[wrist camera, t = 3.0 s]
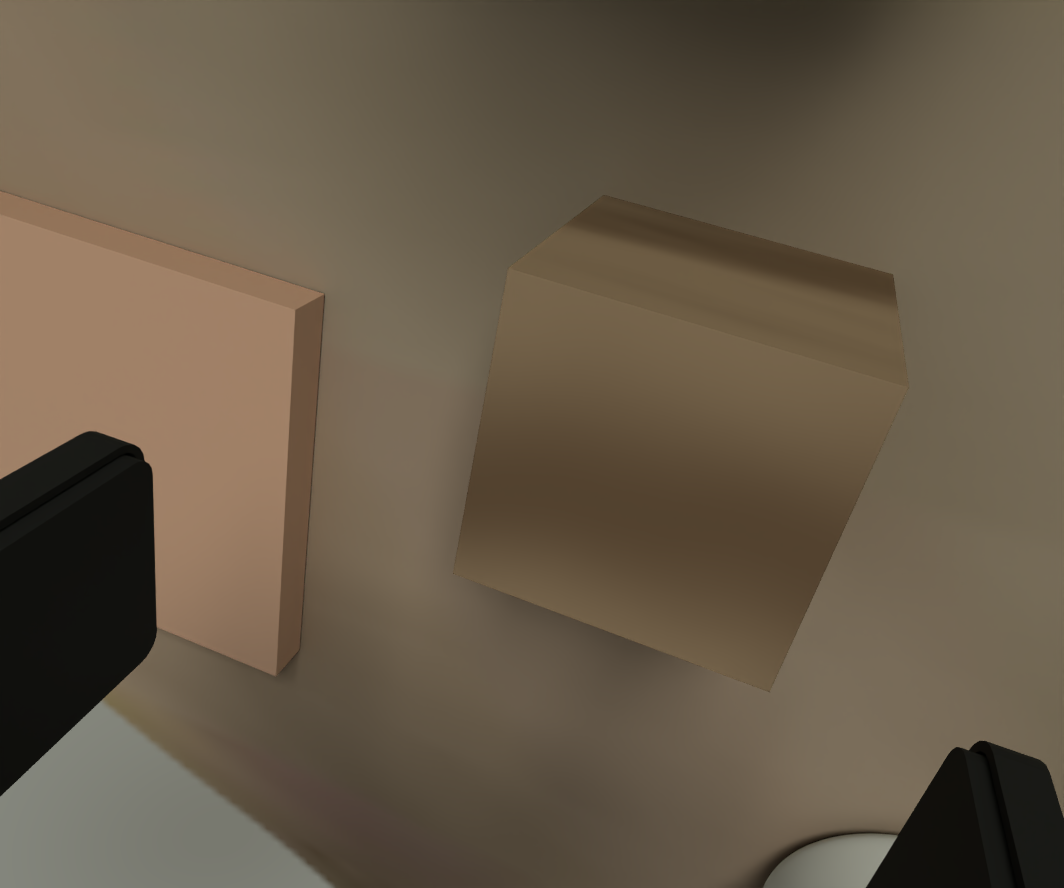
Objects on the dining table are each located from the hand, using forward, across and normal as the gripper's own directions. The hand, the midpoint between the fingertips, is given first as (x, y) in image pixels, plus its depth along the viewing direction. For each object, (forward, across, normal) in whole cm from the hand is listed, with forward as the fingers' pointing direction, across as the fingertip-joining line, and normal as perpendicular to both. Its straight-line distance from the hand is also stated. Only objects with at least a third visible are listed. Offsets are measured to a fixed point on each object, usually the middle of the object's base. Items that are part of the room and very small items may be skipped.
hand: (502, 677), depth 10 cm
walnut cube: (+10, -1, -1) cm, 10 cm away
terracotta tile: (+10, +13, +6) cm, 17 cm away
